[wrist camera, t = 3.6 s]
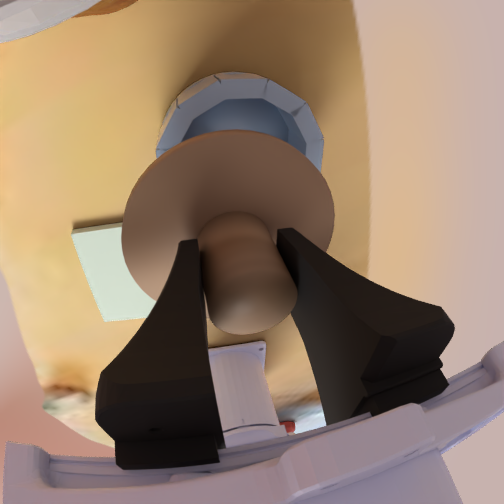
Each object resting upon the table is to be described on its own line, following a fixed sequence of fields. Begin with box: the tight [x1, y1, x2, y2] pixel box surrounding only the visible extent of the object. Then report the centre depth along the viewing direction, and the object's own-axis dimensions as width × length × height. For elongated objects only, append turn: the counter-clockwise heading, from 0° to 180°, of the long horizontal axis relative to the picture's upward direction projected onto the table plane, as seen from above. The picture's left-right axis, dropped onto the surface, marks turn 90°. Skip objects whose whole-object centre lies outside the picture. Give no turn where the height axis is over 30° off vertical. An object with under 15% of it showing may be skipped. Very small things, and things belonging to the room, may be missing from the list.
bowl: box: [156, 72, 324, 173], centre depth 18 cm, size 9×9×4 cm
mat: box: [71, 222, 156, 322], centre depth 23 cm, size 9×9×1 cm
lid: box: [121, 129, 335, 335], centre depth 12 cm, size 9×9×4 cm
